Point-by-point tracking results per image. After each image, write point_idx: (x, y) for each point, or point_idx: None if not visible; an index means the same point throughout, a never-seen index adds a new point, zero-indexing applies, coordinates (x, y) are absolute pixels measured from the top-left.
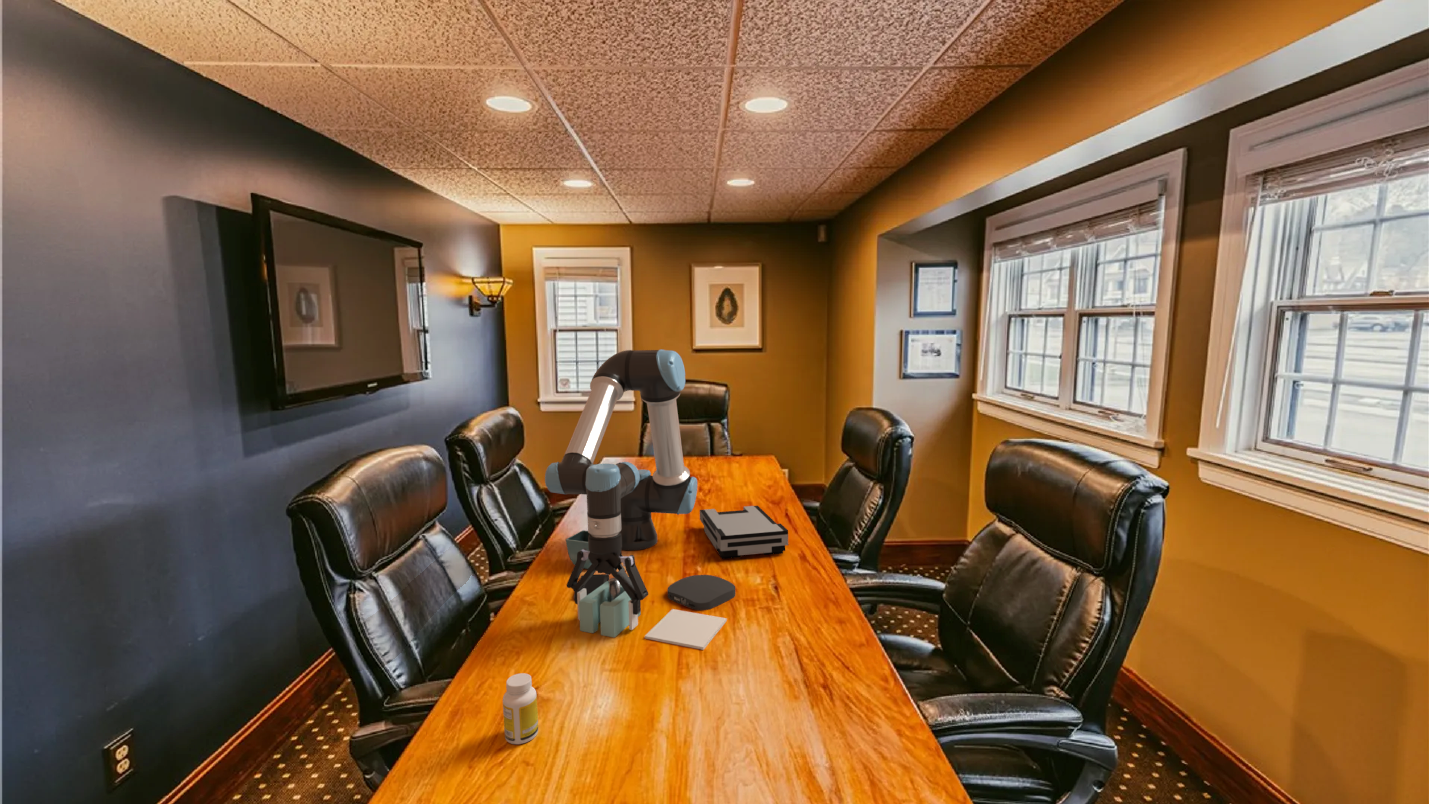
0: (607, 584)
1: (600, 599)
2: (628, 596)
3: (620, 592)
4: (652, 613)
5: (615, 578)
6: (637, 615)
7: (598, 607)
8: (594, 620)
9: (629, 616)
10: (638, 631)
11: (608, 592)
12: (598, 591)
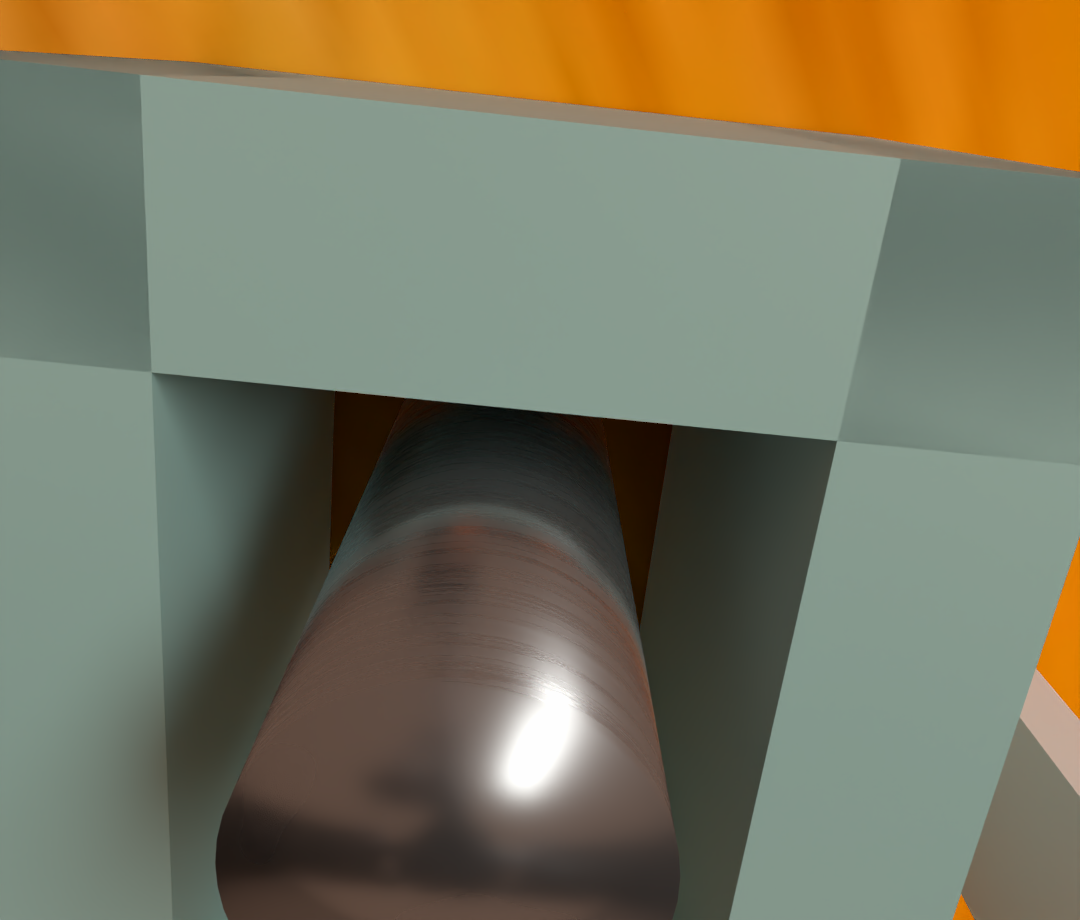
0: (27, 333)
1: (226, 728)
2: (970, 823)
3: (624, 558)
4: (1076, 40)
5: (416, 758)
6: (1038, 683)
7: (264, 715)
8: None
9: (966, 879)
10: None
11: (215, 417)
12: (84, 808)
